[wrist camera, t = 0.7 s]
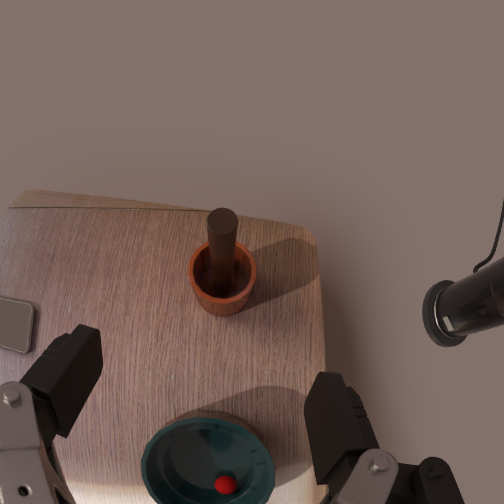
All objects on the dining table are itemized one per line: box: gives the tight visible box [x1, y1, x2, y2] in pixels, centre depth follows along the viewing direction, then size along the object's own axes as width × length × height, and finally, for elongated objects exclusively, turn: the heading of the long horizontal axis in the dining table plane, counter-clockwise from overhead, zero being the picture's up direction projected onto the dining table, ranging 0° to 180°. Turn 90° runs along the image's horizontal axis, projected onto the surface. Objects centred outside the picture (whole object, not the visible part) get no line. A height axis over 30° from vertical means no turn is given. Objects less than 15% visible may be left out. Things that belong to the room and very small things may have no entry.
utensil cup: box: [188, 242, 257, 317], centre depth 34 cm, size 7×7×8 cm
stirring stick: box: [206, 208, 238, 297], centre depth 29 cm, size 2×2×18 cm
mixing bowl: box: [141, 410, 275, 504], centre depth 26 cm, size 14×14×6 cm
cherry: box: [215, 476, 237, 494], centre depth 27 cm, size 3×3×3 cm
